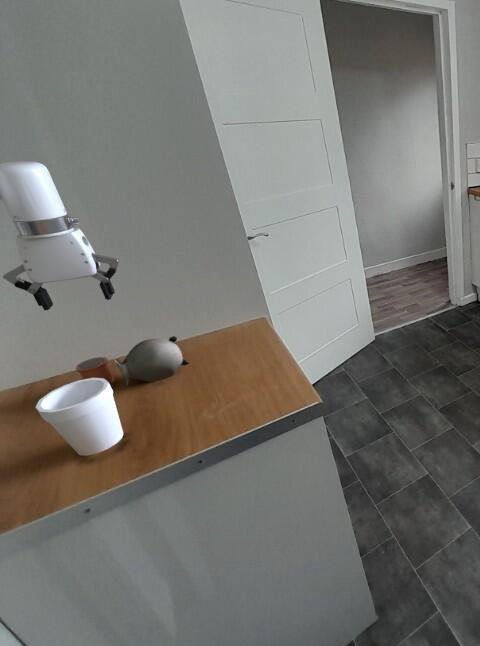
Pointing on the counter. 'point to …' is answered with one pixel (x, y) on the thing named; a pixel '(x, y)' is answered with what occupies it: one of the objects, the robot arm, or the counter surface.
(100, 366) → the pot
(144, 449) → the counter surface
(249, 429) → the counter surface
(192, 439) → the counter surface
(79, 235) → the robot arm
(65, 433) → the foam cup
